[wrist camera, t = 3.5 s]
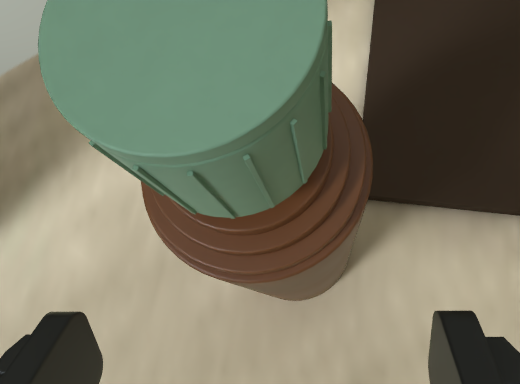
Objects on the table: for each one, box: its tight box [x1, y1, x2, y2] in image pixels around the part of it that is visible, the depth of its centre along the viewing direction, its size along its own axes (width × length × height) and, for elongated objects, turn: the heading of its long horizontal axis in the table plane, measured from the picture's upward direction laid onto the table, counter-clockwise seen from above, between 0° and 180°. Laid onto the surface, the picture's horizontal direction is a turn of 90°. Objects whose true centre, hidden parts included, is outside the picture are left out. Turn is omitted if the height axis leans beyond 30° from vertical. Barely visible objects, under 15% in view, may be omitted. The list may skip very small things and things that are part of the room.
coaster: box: [363, 0, 520, 216], centre depth 25 cm, size 16×16×1 cm
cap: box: [38, 0, 332, 219], centre depth 7 cm, size 4×4×4 cm
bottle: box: [141, 83, 373, 301], centre depth 15 cm, size 6×6×20 cm
